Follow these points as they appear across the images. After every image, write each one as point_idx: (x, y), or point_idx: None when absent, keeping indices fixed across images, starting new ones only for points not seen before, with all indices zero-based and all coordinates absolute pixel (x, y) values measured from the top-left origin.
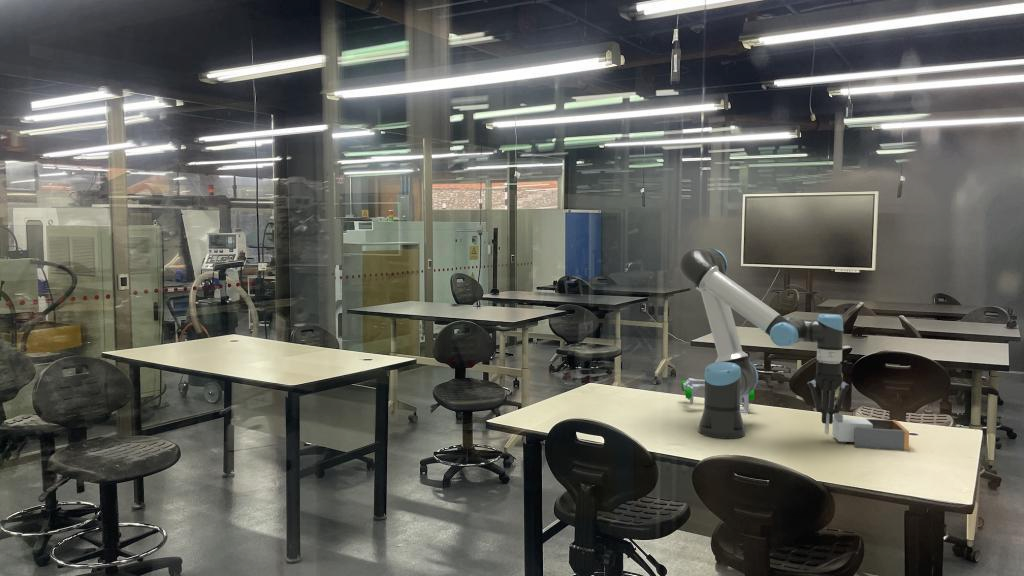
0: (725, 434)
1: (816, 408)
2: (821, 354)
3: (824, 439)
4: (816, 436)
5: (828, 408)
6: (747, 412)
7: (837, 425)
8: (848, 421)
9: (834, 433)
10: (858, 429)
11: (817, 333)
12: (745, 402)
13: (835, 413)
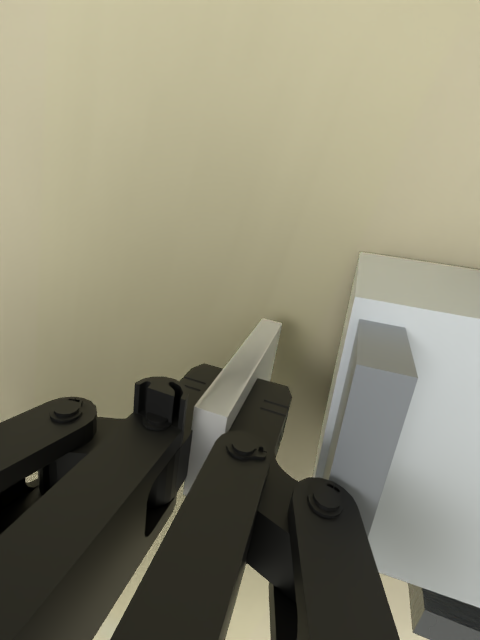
0: None
1: (32, 483)
2: None
3: (270, 315)
4: (239, 235)
5: (196, 488)
6: None
7: (314, 471)
8: (445, 525)
9: (342, 334)
10: (440, 636)
11: None
12: None
13: (337, 433)
